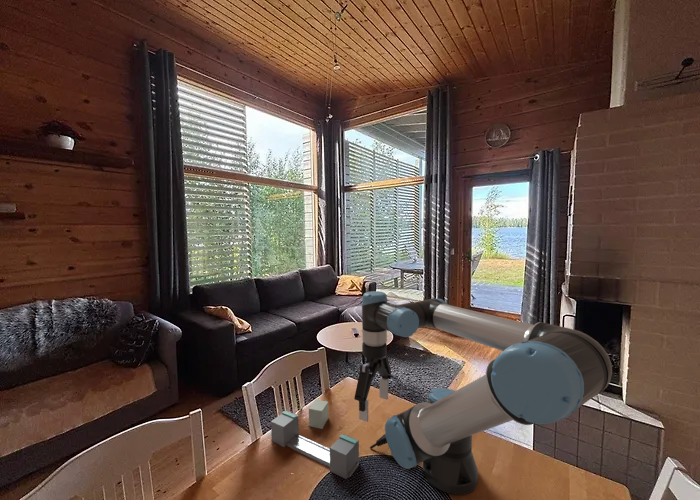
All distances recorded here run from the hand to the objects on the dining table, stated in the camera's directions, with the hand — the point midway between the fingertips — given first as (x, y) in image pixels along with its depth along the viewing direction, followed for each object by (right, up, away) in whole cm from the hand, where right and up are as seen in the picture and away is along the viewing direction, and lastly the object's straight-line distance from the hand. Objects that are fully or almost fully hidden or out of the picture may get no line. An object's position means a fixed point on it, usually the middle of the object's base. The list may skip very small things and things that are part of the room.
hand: (374, 408), depth 95 cm
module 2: (-19, -13, +14) cm, 26 cm away
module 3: (-9, -14, -7) cm, 18 cm away
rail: (-19, -13, 0) cm, 23 cm away
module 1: (-29, -13, +6) cm, 32 cm away
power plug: (0, -15, +1) cm, 15 cm away
